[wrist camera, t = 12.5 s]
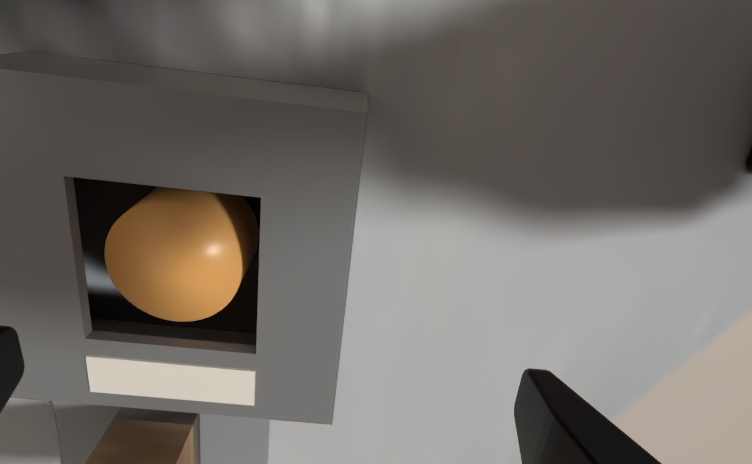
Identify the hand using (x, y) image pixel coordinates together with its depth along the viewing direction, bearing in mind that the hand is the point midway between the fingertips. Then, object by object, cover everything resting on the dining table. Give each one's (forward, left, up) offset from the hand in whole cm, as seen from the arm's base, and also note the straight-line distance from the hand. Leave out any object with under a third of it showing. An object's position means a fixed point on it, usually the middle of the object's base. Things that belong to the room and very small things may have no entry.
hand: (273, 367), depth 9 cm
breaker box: (+5, +3, -12) cm, 13 cm away
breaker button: (+5, +3, -11) cm, 12 cm away
